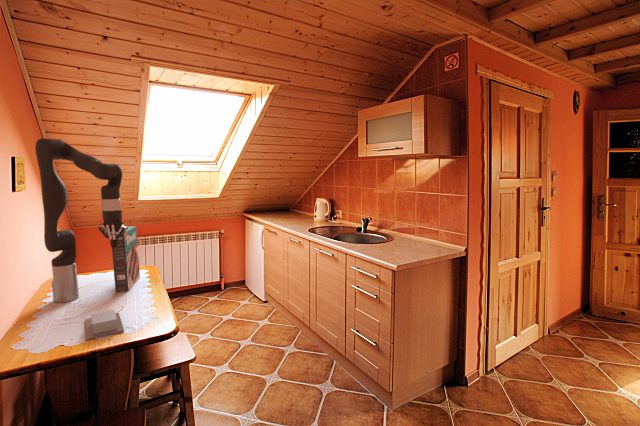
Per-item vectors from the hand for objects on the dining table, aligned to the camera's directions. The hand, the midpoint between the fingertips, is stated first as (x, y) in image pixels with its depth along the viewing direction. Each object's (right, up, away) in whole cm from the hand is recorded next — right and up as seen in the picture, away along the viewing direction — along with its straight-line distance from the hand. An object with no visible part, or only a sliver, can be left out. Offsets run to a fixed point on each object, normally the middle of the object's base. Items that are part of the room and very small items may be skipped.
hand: (114, 247), depth 158 cm
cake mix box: (-11, -23, +32) cm, 41 cm away
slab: (+4, -26, -16) cm, 31 cm away
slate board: (+6, -30, -18) cm, 35 cm away
